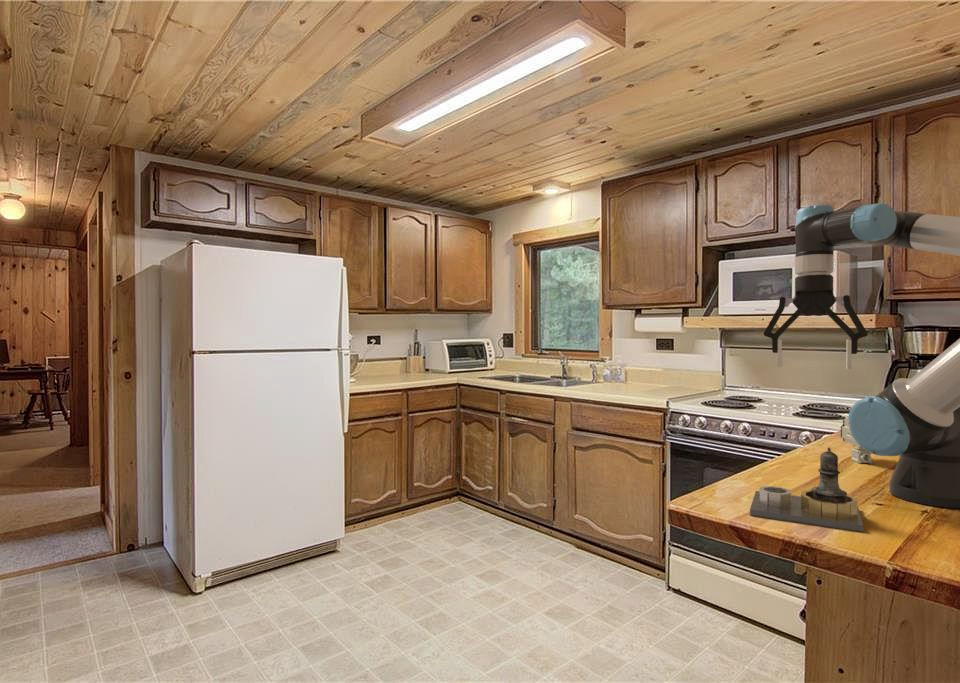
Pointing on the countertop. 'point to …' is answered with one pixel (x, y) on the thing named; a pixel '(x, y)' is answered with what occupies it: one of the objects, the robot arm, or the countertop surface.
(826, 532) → the countertop surface
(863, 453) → the pneumatic valve
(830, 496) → the salt shaker
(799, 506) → the plate
